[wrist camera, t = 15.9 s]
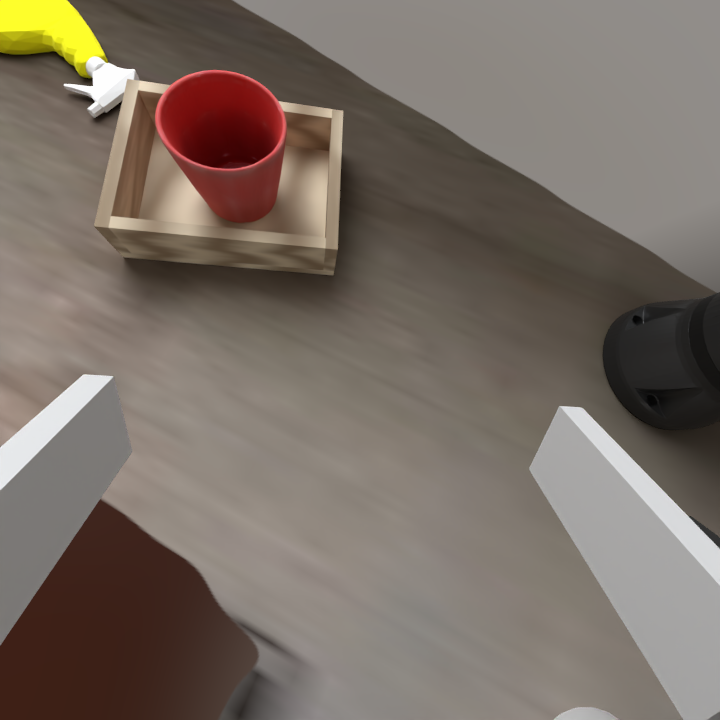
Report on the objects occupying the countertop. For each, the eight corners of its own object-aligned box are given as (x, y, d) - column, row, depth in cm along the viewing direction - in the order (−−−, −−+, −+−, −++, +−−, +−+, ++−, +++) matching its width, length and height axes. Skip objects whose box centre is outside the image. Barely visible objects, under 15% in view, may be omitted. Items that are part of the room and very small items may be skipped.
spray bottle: (10, -36, 45) (163, 83, 45) (-71, 6, 42) (92, 135, 42) (-10, -69, 42) (154, 58, 42) (-98, -26, 39) (77, 112, 39)
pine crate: (338, 150, 45) (343, 110, 40) (333, 275, 41) (337, 249, 36) (149, 125, 42) (127, 78, 37) (123, 257, 38) (93, 226, 33)
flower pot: (255, 255, 39) (239, 193, 30) (169, 201, 39) (126, 123, 30) (309, 187, 42) (309, 112, 33) (228, 138, 42) (206, 49, 33)
